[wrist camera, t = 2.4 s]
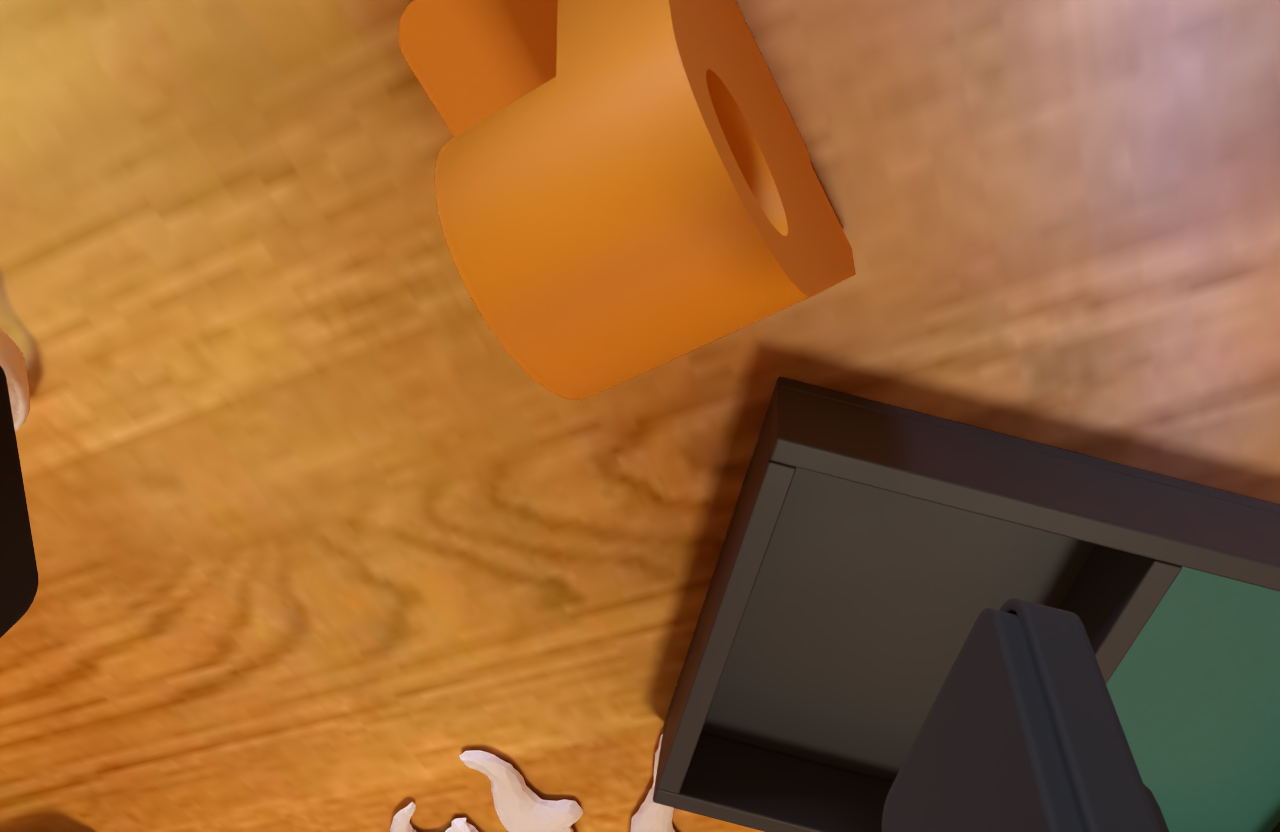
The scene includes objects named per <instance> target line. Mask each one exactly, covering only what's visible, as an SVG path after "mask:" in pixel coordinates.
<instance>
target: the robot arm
mask: <svg viewBox="0 0 1280 832" xmlns="http://www.w3.org/2000/svg"><path fill="white" fill-rule="evenodd" d="M37 587H38V572H37V566H36V560H35V553H34V547H33V541H32V535H31V528H30V522H29V516H28V510H27V504H26V497H25V491H24V485H23V479H22V472H21V466H20V460H19V454H18V448H17V441H16V435H15V429H14V423H13V416H12V410H11V404H10V398H9V391H8V385H7V379H6V375H5V372H4V370H3V368H2V367H1V366H0V638H1V637H2V636H3V635H4V634H5V633H6V632H7V631H8V630H9V629H10V628H11V627H12V626H13V625H14V624H15V623H16V622H17V621H18V620H19V619H20V618H21V617H22V616H23V615H24V614H25V613H26V611H27V610H28V609H29V607H30V605H31V604H32V602H33V600H34V597H35V595H36V592H37ZM882 832H1169V830H1168V827H1167V825H1166V822H1165V819H1164V817H1163V814H1162V812H1161V809H1160V807H1159V805H1158V803H1157V801H1156V799H1155V797H1154V795H1153V794H1152V792H1151V790H1150V789H1149V788H1148V787H1147V786H1146V785H1144V784H1143V782H1142V779H1141V776H1140V774H1139V771H1138V768H1137V766H1136V763H1135V760H1134V758H1133V755H1132V752H1131V750H1130V747H1129V744H1128V742H1127V739H1126V736H1125V734H1124V731H1123V728H1122V726H1121V723H1120V720H1119V718H1118V715H1117V712H1116V710H1115V707H1114V704H1113V702H1112V699H1111V696H1110V694H1109V691H1108V688H1107V686H1106V683H1105V681H1104V678H1103V675H1102V673H1101V670H1100V667H1099V665H1098V662H1097V659H1096V657H1095V654H1094V651H1093V649H1092V646H1091V643H1090V641H1089V638H1088V635H1087V633H1086V630H1085V627H1084V625H1083V623H1082V621H1081V619H1080V618H1079V616H1078V615H1076V614H1074V613H1073V612H1069V611H1065V610H1061V609H1057V608H1053V607H1049V606H1045V605H1041V604H1037V603H1033V602H1029V601H1025V600H1021V599H1017V598H1013V599H1009V600H1008V601H1007V602H1005V603H1004V604H1003V605H1002V607H1001V608H1000V610H995V609H991V608H987V609H984V610H983V611H982V612H981V613H980V615H979V616H978V618H977V619H976V621H975V623H974V625H973V627H972V629H971V631H970V633H969V635H968V637H967V639H966V641H965V643H964V645H963V647H962V649H961V651H960V653H959V655H958V657H957V659H956V661H955V662H954V664H953V666H952V668H951V670H950V672H949V674H948V676H947V678H946V680H945V682H944V684H943V686H942V688H941V690H940V692H939V694H938V696H937V698H936V700H935V702H934V704H933V706H932V708H931V710H930V712H929V713H928V715H927V717H926V719H925V721H924V723H923V725H922V727H921V729H920V731H919V733H918V735H917V737H916V739H915V741H914V743H913V745H912V747H911V749H910V751H909V753H908V755H907V757H906V759H905V761H904V763H903V764H902V766H901V768H900V770H899V772H898V774H897V776H896V778H895V780H894V782H893V784H892V786H891V788H890V790H889V792H888V795H887V797H886V801H885V804H884V809H883V815H882Z"/></svg>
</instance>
